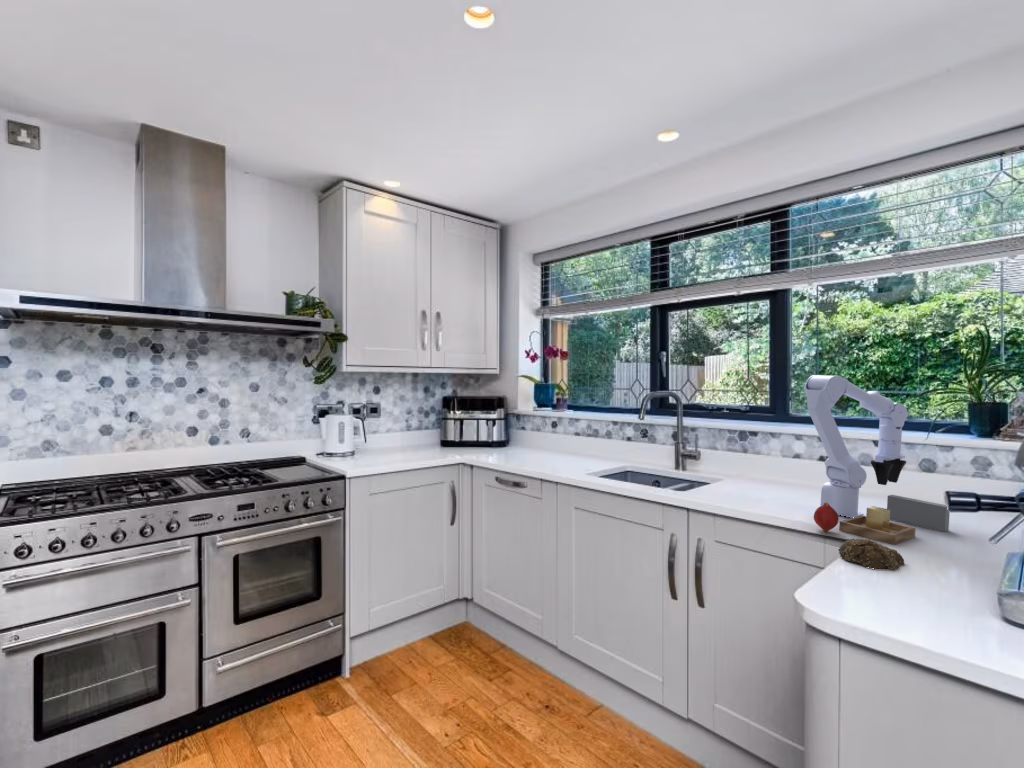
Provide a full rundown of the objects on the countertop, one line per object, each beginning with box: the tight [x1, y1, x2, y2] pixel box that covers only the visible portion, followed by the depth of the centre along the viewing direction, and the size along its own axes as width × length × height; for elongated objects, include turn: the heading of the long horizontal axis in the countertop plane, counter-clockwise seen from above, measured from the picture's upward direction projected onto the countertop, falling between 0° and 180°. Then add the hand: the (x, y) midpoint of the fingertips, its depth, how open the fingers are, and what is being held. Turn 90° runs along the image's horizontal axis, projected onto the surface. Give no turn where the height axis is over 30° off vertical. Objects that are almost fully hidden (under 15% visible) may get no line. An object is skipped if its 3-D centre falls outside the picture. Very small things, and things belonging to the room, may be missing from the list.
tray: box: [838, 515, 916, 545], centre depth 139 cm, size 13×13×2 cm
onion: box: [813, 502, 840, 532], centre depth 140 cm, size 6×6×8 cm
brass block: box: [865, 505, 891, 532], centre depth 139 cm, size 4×4×6 cm
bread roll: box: [837, 537, 905, 571], centre depth 119 cm, size 13×12×5 cm
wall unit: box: [886, 494, 951, 533], centre depth 149 cm, size 14×3×7 cm, turn 33°
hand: (887, 483), depth 160 cm, fingers open, 7 cm apart
